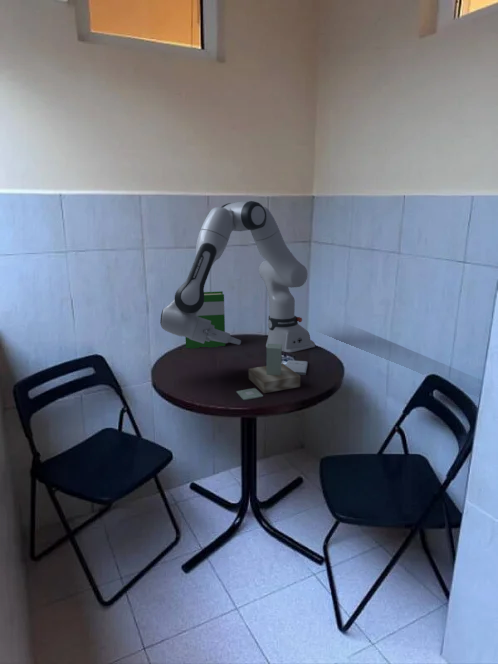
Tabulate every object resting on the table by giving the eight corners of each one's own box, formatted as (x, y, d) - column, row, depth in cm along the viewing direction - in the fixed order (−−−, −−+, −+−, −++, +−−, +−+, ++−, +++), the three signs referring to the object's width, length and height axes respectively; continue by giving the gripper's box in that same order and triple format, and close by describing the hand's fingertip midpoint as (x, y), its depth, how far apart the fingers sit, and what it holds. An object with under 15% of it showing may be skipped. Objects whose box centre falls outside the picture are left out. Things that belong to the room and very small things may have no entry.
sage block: (267, 369, 164) (267, 343, 161) (281, 370, 163) (281, 344, 160) (266, 374, 159) (266, 348, 156) (280, 375, 158) (280, 348, 156)
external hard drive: (284, 375, 171) (287, 363, 182) (305, 376, 169) (307, 364, 181) (284, 371, 170) (287, 359, 182) (305, 372, 169) (307, 361, 180)
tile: (255, 388, 157) (255, 387, 157) (263, 396, 151) (263, 395, 151) (236, 392, 154) (236, 390, 154) (244, 400, 148) (243, 398, 148)
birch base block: (282, 373, 171) (282, 363, 170) (300, 386, 159) (300, 376, 157) (248, 378, 166) (248, 368, 165) (264, 393, 153) (264, 382, 152)
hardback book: (223, 341, 209) (222, 291, 203) (225, 346, 202) (224, 294, 196) (185, 343, 207) (183, 292, 200) (186, 348, 200) (183, 296, 193)
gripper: (206, 321, 153) (244, 334, 155) (204, 323, 174) (238, 334, 175) (201, 339, 153) (239, 351, 155) (199, 338, 173) (233, 349, 175)
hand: (238, 342), depth 165 cm, fingers open, 8 cm apart
